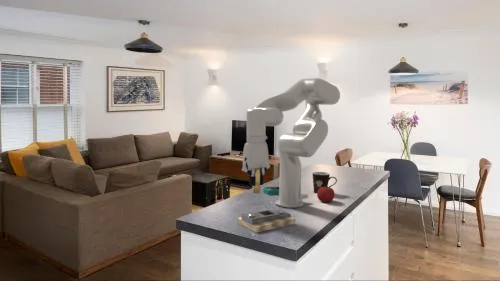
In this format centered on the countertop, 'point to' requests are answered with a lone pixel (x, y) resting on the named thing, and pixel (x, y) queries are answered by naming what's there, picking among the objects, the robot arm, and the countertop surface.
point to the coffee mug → (321, 180)
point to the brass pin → (256, 181)
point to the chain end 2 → (282, 215)
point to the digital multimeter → (271, 190)
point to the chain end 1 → (259, 216)
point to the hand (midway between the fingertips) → (256, 184)
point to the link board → (267, 224)
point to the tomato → (325, 194)
